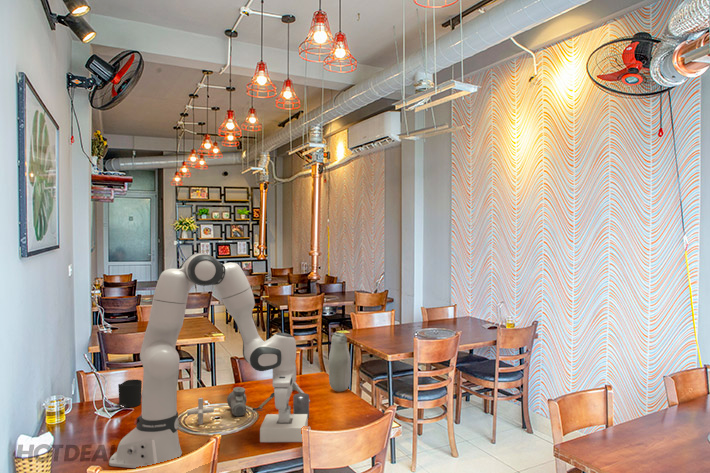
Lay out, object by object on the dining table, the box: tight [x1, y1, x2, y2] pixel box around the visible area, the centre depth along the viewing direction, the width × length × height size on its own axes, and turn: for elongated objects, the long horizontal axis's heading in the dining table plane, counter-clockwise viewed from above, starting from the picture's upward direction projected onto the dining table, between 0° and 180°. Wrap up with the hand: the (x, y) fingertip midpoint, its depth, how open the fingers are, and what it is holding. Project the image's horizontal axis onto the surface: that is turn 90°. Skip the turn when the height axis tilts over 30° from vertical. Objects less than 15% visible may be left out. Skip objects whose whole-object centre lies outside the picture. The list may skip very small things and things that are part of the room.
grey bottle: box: [328, 332, 351, 392], centre depth 234 cm, size 10×10×28 cm
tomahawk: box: [252, 392, 275, 412], centre depth 218 cm, size 22×7×1 cm, turn 167°
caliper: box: [292, 381, 311, 403], centre depth 227 cm, size 21×1×6 cm, turn 31°
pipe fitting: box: [226, 386, 247, 418], centre depth 205 cm, size 12×8×10 cm
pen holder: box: [118, 379, 143, 408], centre depth 215 cm, size 9×9×10 cm
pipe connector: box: [186, 397, 215, 425], centre depth 193 cm, size 10×10×10 cm
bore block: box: [259, 413, 309, 443], centre depth 182 cm, size 16×14×5 cm
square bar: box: [278, 405, 292, 424], centre depth 182 cm, size 4×4×10 cm
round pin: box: [292, 392, 310, 419], centre depth 199 cm, size 6×6×9 cm
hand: (284, 412), depth 182 cm, fingers open, 8 cm apart
